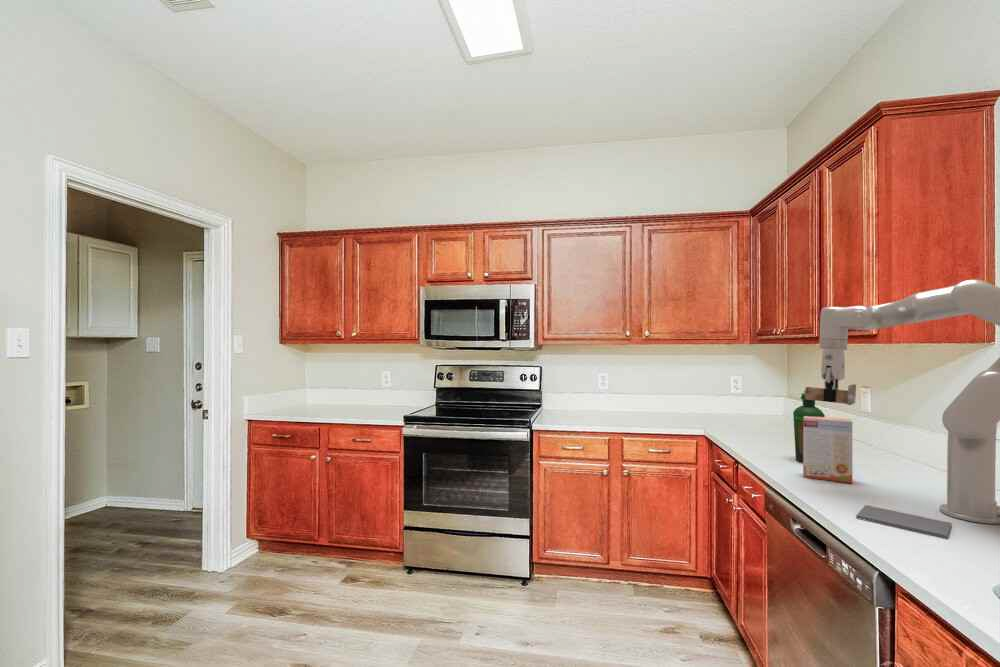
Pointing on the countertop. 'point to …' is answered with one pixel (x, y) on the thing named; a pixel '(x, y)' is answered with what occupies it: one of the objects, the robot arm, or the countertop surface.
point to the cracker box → (827, 448)
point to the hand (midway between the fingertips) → (830, 400)
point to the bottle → (798, 416)
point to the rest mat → (905, 521)
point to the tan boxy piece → (841, 395)
